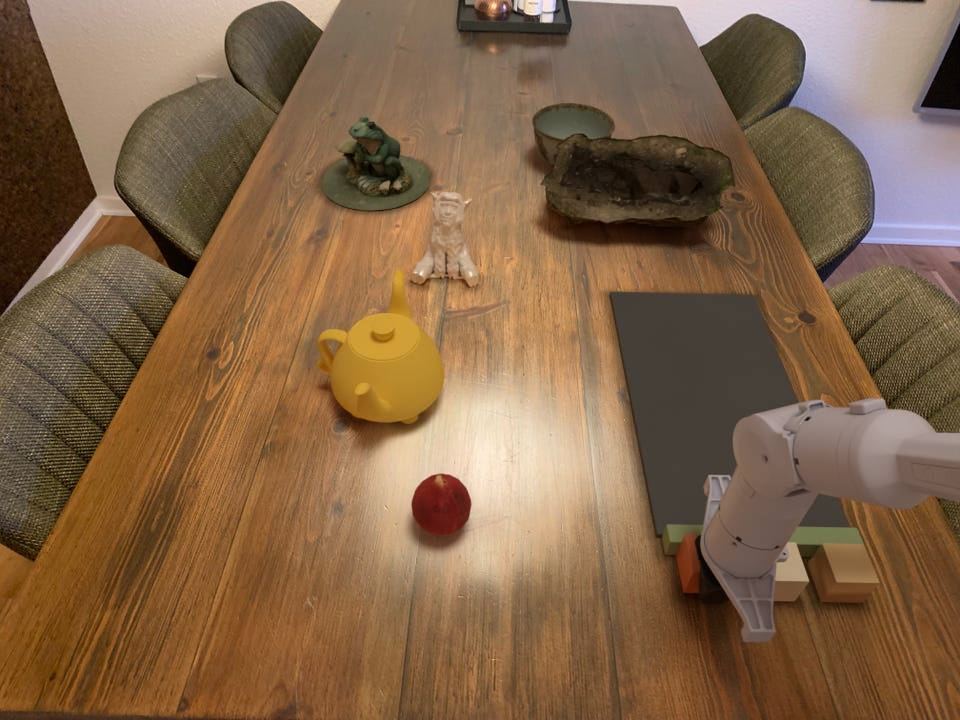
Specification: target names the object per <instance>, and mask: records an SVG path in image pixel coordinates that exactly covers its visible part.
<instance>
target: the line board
mask: <svg viewBox="0 0 960 720" xmlns="http://www.w3.org/2000/svg"><path fill="white" fill-rule="evenodd" d="M609 297H610V303H611V308H612V313H613V319H614V323H615V328H616V329H615V330H616V334H617V339H618V344H619V351H620V354H621V360H622V365H623V370H624V375H625V381H626V386H627V391H628V397H629V402H630V408H631V411H632V417H633V422H634V427H635V431H636V432H635V434H636V438H637V443H638V448H639V454H640V459H641V464H642V469H643V474H644V475H643V476H644V480H645V486H646V490H647V495H648V500H649V505H650V506H649V507H650V510H651V516H652V521H653V526H654V532H655V537H656V538H661V541H662V542H661V543H662V547H663V552H664V555H665V556H676V553H677V551H678V549H679V547H680V544H681V542H682V540H683V537H684V535H685V534H687V535H701V534H702V528H703V522H704V516H705V510H706V504H707V498H708V496H706V495H705V492H704V488H703V486H704V484H705V482H706V480H707V477H708V475H730V477H732V475H733V473H734V471H735V469H736V467H737V462H736V459H735V455H734V450H733V433H734V429H735V426H736V424H737V423H738V422H739V421H740V420H741V419H742V418H745V417H749V416H751V415H753V414H756V413H760V412H764V411H769V410H773V409H777V408H781V407H785V406H789V405H793V404H797V403H799V401H798V397H797V396H796V393H795V390H794V388H793V385H792V383H791V381H790V379H789V376H788V374H787V371H786V368H785V366H784V364H783V361H782V359H781V357H780V354H779V352H778V350H777V347H776V345H775V343H774V339H773V337H772V335H771V332H770V330H769V328H768V326H767V323H766V321H765V318H764V316H763V313H762V310H761V309H760V306H759V303H758V301H757V299H756V296H755V294H738V293H737V294H735V293H696V292H695V293H690V292H689V293H688V292H687V293H686V292H644V291H643V292H642V291H610V292H609ZM839 499H840V498H837V497H833V496H828V495H823V494H818V496H817V497H816V499H815V500H814V502H813V503H812V505H811V506H810V508H809V510H808V511H807V513H806V514H805V516H804V517H803V519H802V521H801V522H800V524H799V525H798V527H797V528H796V530H795V532H794V533H793V535H792V536H791V538H790V539H789V541H788V542H796V544H797V547H798V550H799V553H800V556H801V558H812V557H813V556H814V554H815V553H816V551H817V550H818V548H819V547H820V546H821V544H822V543H838V544H864V545H865V543H864V541H863V538H862V536H861V534H860V531H859V529H858V527H851V526H850V524H849V521H848V519H847V517H846V514H845V512H844V509H843V507H842V505H841V502H840V500H839Z"/></svg>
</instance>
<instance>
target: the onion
mask: <svg viewBox="0 0 960 720" xmlns="http://www.w3.org/2000/svg"><path fill="white" fill-rule="evenodd" d="M410 506H411V513H412V517H413V519H414V521H415V522H416V524H417V525H418V526H419V527H420V529H422V530H424V531H425V532H427V533H428V534H430V535H433V536H438V537H443V536H450V535H452V534H454V533H456V532H458V531H460V530H461V529H462V528H463V527H464V526H465V524H467V522H468V521H469V519H470V514H471V511H472V510H471V509H472V499H471V496H470V493H469V490H468V488H467V487H466V485H464V483H462V481H461V480H460V479H459V478H458V477H455V476H453V475H451V474H448V473H435V474H431V475H429V476H428V477H427V478H425V479H423V480H422V481H421V482H420V484H419V485H418V486H417V487H416V488H415V490H414V493H413V495H412V499H411V505H410Z"/></svg>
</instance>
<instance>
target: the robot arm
mask: <svg viewBox="0 0 960 720" xmlns="http://www.w3.org/2000/svg"><path fill="white" fill-rule="evenodd" d="M886 404H887V403H886V400H885V399H884V398H882V397H869V398H864V399H860V400H856V401H852V402H850V403H849V404H848V407H844V406H843V407H840V406H833V405H830V404H828V403H826V402H825V401H824V400H823V399H810V400H805V401H801V402H798V403H797V404H793V405H789V406H785V407H781V408H777V409H773V410H769V411H764V412H760V413H756V414H753V415H751V416H749V417H745V418H742V419H741V420H740V421H739V422H738V423H737V424H736V426H735V429H734V433H733V450H734V455H735V459H736V462H737V467H736V469H735V471H734V473H733V475H732V477H730V475H708V477H707V480H706V482H705V484H704V486H703V488H704V492H705V495H706V496H708V498H707V504H706V510H705V516H704V522H703V528H702V534H701V535H699V536H698V537H697V538H696V539H695V547H696V551H697V556H698V560H699V564H700V577H699V593H698V594H699V597H700V602H701V604H702V605H724V604H725V603H726V602H728V601H729V600H730V602H731V604H732V606H733V607H734V608H735V610H736V611H737V613H738V615H739V616H740V618H741V621H742V622H743V626H742V628H741V629H740V634H741V637H742V641H743V642H744V643H769V642H770V641H771V639H772V638H773V637H774V635H775V634H776V633H777V630H776V626H775V621H774V605H775V603H774V602H775V601H774V591H775V579H776V566H777V562H785V561H786V560H787V559H788V557H789V552H788V549H787V546H786V544H787V543H788V541H789V539H790V538H791V536H792V535H793V533H794V532H795V530H796V528H797V527H798V525H799V524H800V522H801V521H802V519H803V517H804V516H805V514H806V513H807V511H808V510H809V508H810V506H811V505H812V503H813V502H814V500H815V499H816V497H817V496H818V494H823V495H828V496H833V497H837V498H838V499H844V500H847V501H852V502H858V503H862V504H867V505H872V506H875V507H876V506H877V507H881V508H887V509H891V510H909V509H911V508H914V507H916V506H919V505H920V504H921V503H923V502H925V501H926V500H927V499H928V498H929V497H935V498H939V499H943V500H947V501H951V502H956V503H960V432H936V430H935V429H934V428H933V426H932V425H931V424H930V422H928V421H927V419H925V418H924V417H922V416H921V415H919V414H917V413H915V412H914V411H910V410H908V409H907V410H906V409H897V408H894V409H893V408H887V405H886Z"/></svg>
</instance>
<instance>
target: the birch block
mask: <svg viewBox="0 0 960 720" xmlns="http://www.w3.org/2000/svg"><path fill="white" fill-rule="evenodd" d="M807 566H808V570H809V573H810V576H811V578H812V581H813V584H814V587H815V590H816V592H817V595H818V599H819V601H820V603H841V604H842V603H843V604H845V603H847V604H863V603H864V602H865V601H866V599H868V597H869V596H870V595H871V594H872V593H873V592H874V591H875V589H876V588H878V586H879V585H880V584H881V582H880V579H879V577H878V574H877V571H876V570H875V567H874V565H873V562H872V560H871V557H870V555H869V553H868V550H867V548H866V545H865V543H864V544H838V543H822V544H821V546H820V547H819V548H818V550H817V551H816V553H815V554H814V556H813V557H810V560H809V561H808V563H807Z"/></svg>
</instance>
